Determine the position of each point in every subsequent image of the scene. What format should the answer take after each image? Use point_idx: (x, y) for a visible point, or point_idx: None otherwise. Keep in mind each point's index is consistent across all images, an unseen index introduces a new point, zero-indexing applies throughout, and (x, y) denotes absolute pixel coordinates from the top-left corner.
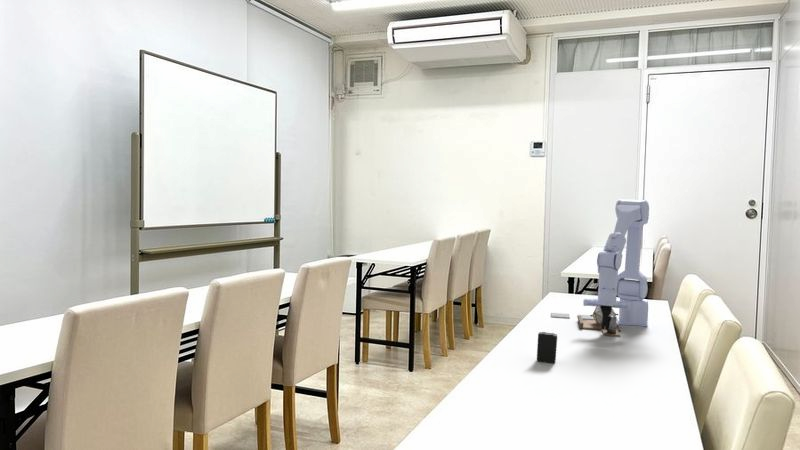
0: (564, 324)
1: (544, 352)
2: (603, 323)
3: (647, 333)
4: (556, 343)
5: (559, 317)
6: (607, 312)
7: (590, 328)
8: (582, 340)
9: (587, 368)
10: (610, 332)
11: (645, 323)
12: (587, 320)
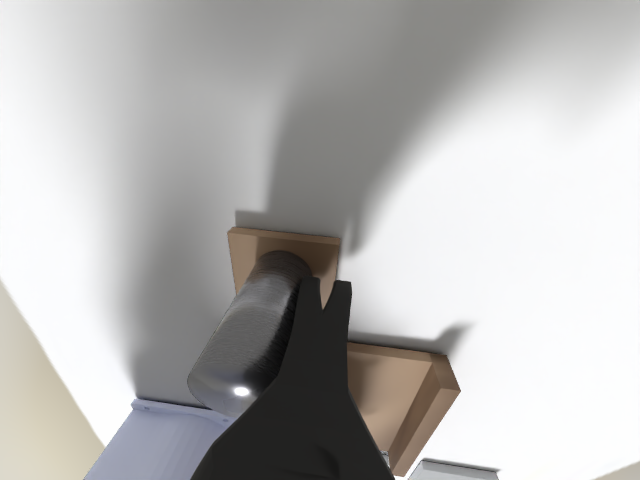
0: (487, 413)
1: None
2: (341, 310)
3: (111, 321)
4: None
5: (464, 472)
6: (280, 443)
7: (389, 353)
8: (614, 30)
9: None
10: (289, 257)
11: (137, 414)
12: None
